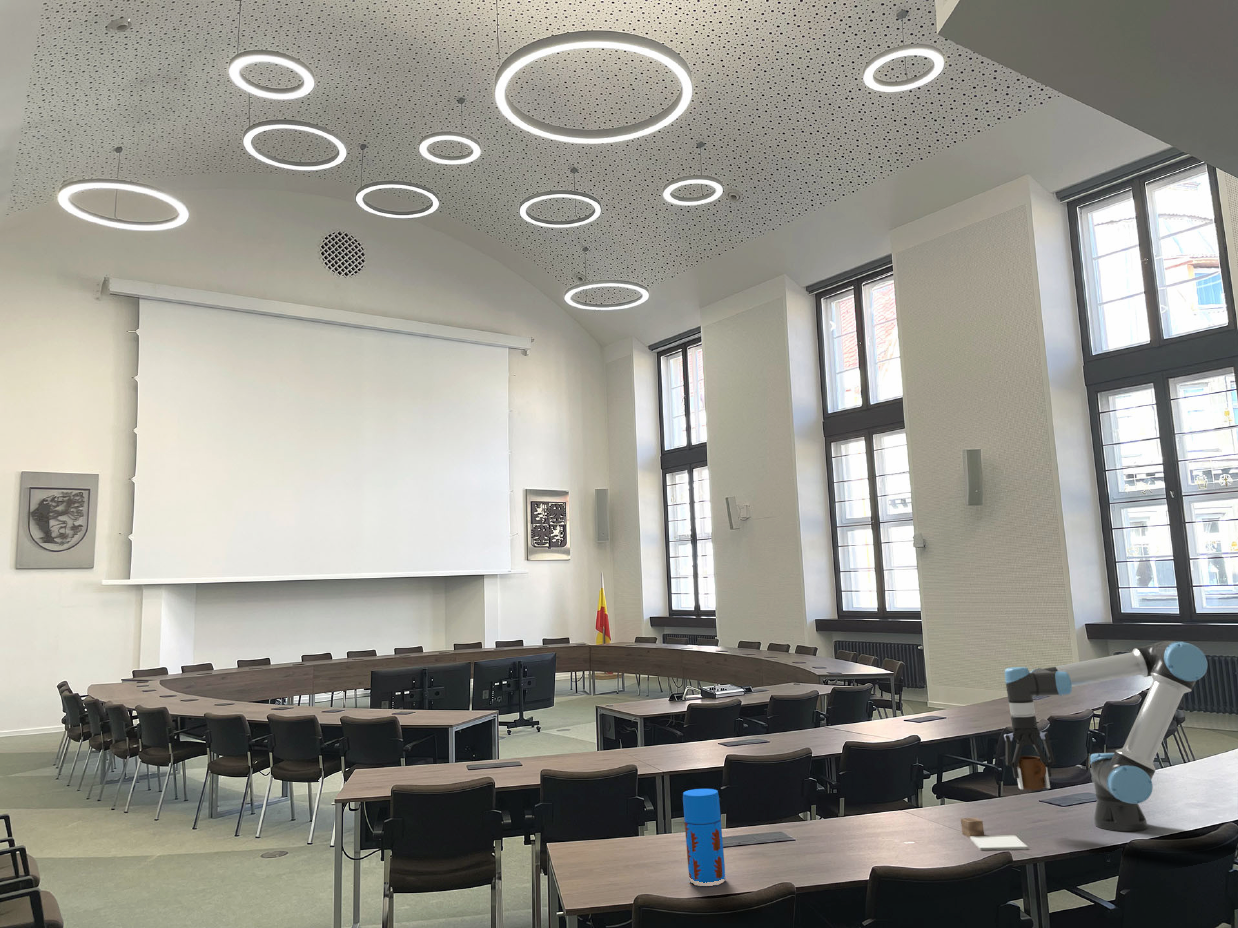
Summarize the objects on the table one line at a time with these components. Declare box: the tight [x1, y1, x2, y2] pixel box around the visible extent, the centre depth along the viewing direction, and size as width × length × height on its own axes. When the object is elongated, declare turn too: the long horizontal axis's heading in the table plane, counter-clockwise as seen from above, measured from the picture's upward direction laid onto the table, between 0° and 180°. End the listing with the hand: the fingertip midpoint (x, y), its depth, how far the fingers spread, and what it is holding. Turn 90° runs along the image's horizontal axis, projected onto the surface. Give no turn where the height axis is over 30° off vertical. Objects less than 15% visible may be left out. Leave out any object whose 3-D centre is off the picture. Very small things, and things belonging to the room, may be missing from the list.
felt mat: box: [969, 834, 1029, 851], centre depth 266 cm, size 14×14×1 cm
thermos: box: [682, 788, 726, 883], centre depth 250 cm, size 11×11×25 cm
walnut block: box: [960, 817, 985, 839], centre depth 277 cm, size 5×5×5 cm
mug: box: [1018, 755, 1046, 791], centre depth 274 cm, size 12×8×9 cm, turn 8°
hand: (1034, 787), depth 273 cm, fingers closed on mug, 7 cm apart
